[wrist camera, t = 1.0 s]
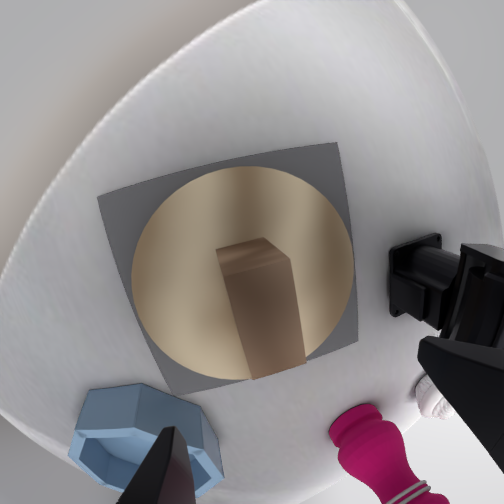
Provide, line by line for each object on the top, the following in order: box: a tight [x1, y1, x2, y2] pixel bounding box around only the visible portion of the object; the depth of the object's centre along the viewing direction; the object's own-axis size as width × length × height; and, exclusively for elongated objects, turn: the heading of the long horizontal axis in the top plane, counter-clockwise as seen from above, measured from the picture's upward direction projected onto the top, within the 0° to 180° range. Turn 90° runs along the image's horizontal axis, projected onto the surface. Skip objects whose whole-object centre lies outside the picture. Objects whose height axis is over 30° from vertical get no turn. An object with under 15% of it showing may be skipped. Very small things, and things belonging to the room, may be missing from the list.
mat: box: [97, 142, 358, 396], centre depth 18 cm, size 16×16×1 cm
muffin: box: [415, 375, 456, 419], centre depth 24 cm, size 6×6×7 cm
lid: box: [131, 166, 354, 380], centre depth 15 cm, size 15×15×6 cm
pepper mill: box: [329, 404, 450, 504], centre depth 16 cm, size 7×7×20 cm
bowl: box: [68, 383, 224, 498], centre depth 18 cm, size 13×13×5 cm
